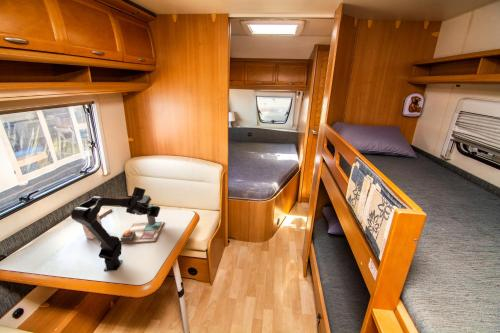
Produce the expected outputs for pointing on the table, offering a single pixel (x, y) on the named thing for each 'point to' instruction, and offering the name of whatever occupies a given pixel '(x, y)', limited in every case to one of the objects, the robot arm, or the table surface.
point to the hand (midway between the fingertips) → (151, 213)
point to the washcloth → (104, 212)
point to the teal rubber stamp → (150, 218)
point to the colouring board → (142, 233)
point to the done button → (127, 233)
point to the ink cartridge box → (87, 231)
